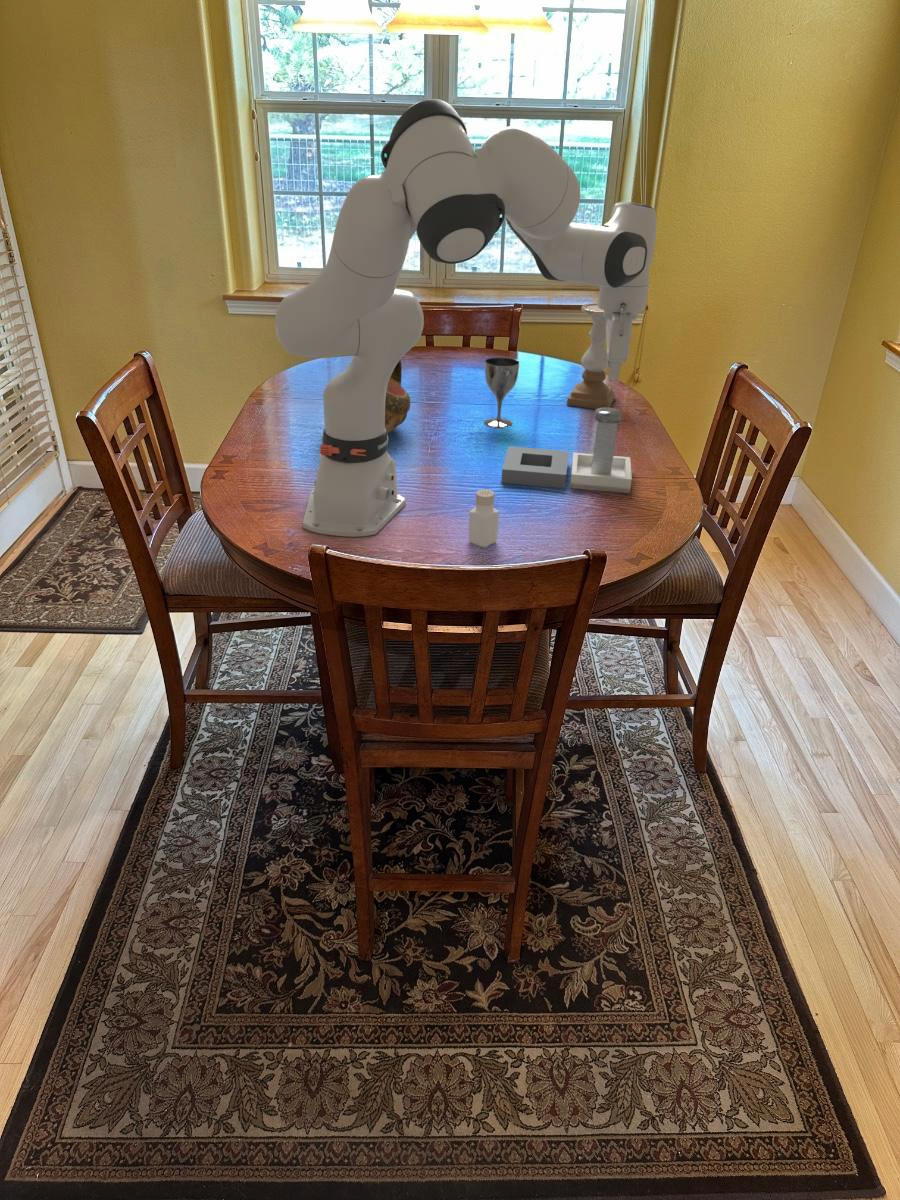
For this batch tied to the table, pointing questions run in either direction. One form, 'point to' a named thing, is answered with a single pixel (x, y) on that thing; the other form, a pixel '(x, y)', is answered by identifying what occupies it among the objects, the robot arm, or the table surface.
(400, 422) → the ceramic vessel
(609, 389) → the candle holder
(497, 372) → the wine glass
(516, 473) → the holder block
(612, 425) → the pin
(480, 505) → the pepper shaker
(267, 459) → the table surface
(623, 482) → the tray
